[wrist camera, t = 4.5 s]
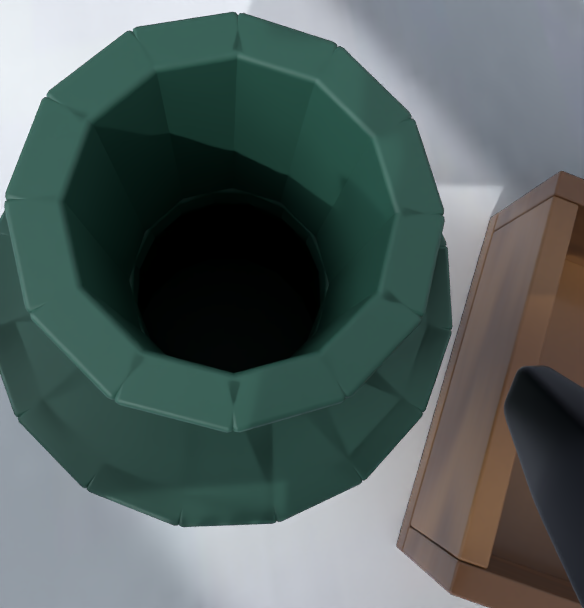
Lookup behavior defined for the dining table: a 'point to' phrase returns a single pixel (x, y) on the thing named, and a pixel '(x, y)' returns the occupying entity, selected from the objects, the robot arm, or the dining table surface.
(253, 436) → the bottle
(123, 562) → the dining table surface
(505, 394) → the crate
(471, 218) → the dining table surface
